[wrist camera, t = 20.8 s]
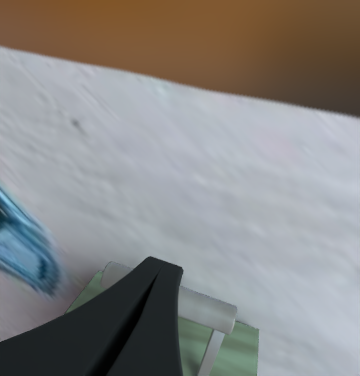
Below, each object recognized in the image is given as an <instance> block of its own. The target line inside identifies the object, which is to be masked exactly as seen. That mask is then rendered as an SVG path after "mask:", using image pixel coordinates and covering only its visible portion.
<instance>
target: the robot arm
mask: <svg viewBox="0 0 360 376" xmlns="http://www.w3.org/2000/svg"><path fill="white" fill-rule="evenodd" d="M182 275H183V269H182V267H180V266H177V265H174V264H171V263H168V262H165V261H162V260H160V259H157V258H154V257H151V256H150V257H147V258H146V259H145V260H144V261H143V262H142V263H140V264H139V265H138V266H137V267H136V268H135V269H133V270H132V271H131V272H130V273H128V274H127V275H126V276H124V277H123V278H122V279H120V280H119V281H118V282H116V283H115V284H113V285H112V286H111V287H109V288H108V289H106V290H105V291H103V292H102V293H100V294H99V295H97V296H96V297H94V298H92V299H91V300H89V301H88V302H86V303H84V304H83V305H81V306H79V307H77V308H76V309H74V310H72V311H70V312H68V313H66V314H64V315H62V316H60V317H58V318H56V319H54V320H52V321H50V322H48V323H46V324H44V325H41V326H39V327H37V328H35V329H32V330H30V331H27V332H25V333H22V334H19V335H17V336H14V337H12V338H9V339H7V340H4V341H1V342H0V376H183V369H182V363H181V355H180V346H179V333H178V294H179V286H180V282H181V278H182Z"/></svg>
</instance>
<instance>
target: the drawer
mask: <svg viewBox="0 0 360 376" xmlns="http://www.w3.org/2000/svg"><path fill="white" fill-rule="evenodd" d="M132 270H133V269H131V268H128V267H126V266H123V265H120V264H117V263H114V262H110V263H109V264H108V265H107V266H106V268H105V270H104V272H101V271H98V272H97V274H96V275H95V276H94V277H93V279H92V280H91V281H90V282H89V284H88V285H87V286H86V287H85V289H84V290H83V291H82V292H81V294H80V295H79V296H78V297H77V299H76V300H75V301H74V302H73V304H72V305H71V306H70V307H69V309H68V310H67V311H66V312H65V314H66V313H68V312H70V311H72V310H74V309H76V308H77V307H79V306H81V305H83V304H84V303H86V302H88V301H89V300H91V299H92V298H94V297H96V296H97V295H99V294H100V293H102V292H103V291H105V290H106V289H108V288H109V287H111V286H112V285H113V284H115V283H116V282H118V281H119V280H120V279H122V278H123V277H124V276H126V275H127V274H128V273H130V272H131V271H132ZM236 316H237V307H236V306H234V305H231V304H228V303H226V302H223V301H220V300H217V299H215V298H212V297H209V296H206V295H203V294H201V293H198V292H195V291H192V290H190V289H187V288H184V287H181V286H179V294H178V333H179V346H180V355H181V363H182V369H183V376H257V363H258V343H259V330H258V329H256V328H253V327H251V326H248V325H245V324H242V323H240V322H237V321H235V320H236Z"/></svg>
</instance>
